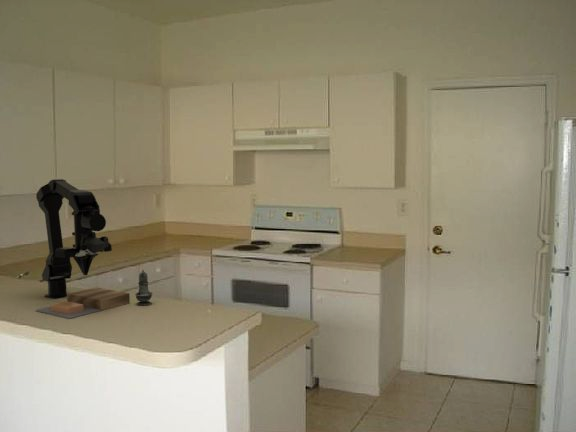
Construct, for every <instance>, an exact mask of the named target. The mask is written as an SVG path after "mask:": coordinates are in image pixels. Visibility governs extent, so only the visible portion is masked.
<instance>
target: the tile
mask: <svg viewBox="0 0 576 432" xmlns="http://www.w3.org/2000/svg"><path fill="white" fill-rule="evenodd" d="M49 307H50V310H51V311H54V312H58V313H63V314H67V315H69V314H72V313H76V312H80V311H84V307H83V304H78V303H73V302H68V301H67V300H65V301H61V302H57V303H52V304H50V306H49Z"/></svg>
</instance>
